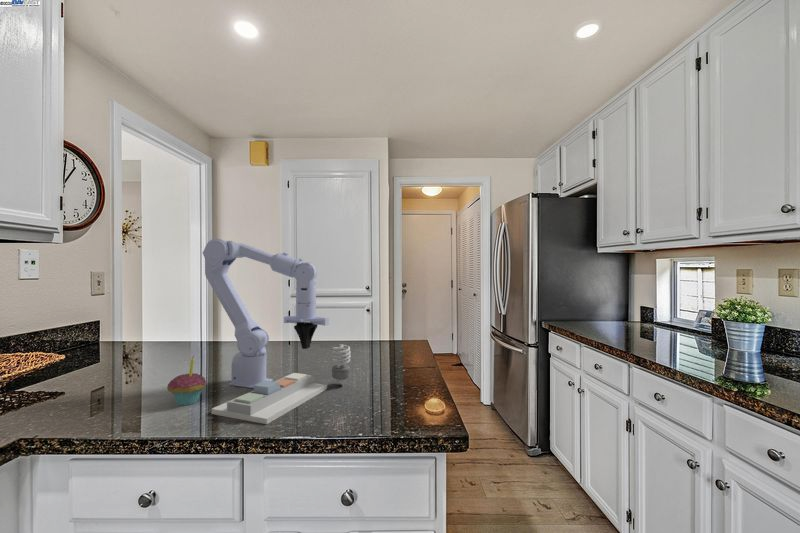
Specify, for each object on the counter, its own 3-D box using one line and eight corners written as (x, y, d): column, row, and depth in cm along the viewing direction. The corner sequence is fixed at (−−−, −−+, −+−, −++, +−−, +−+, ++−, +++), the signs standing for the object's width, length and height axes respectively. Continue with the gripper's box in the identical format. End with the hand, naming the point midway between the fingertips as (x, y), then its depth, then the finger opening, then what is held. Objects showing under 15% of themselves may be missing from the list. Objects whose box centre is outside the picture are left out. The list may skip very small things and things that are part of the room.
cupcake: (213, 398, 96) (213, 353, 96) (185, 410, 88) (185, 360, 88) (188, 394, 99) (189, 350, 99) (159, 405, 91) (159, 357, 91)
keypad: (211, 413, 86) (211, 399, 86) (280, 382, 110) (280, 371, 110) (266, 424, 81) (266, 408, 81) (327, 389, 104) (327, 377, 104)
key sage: (235, 408, 85) (235, 398, 85) (248, 401, 89) (248, 392, 89) (250, 410, 84) (250, 401, 84) (263, 404, 88) (263, 394, 88)
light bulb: (346, 388, 104) (346, 346, 104) (328, 387, 105) (328, 345, 105) (353, 382, 110) (353, 342, 110) (335, 381, 111) (335, 341, 111)
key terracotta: (269, 391, 97) (269, 383, 97) (280, 386, 101) (280, 378, 101) (283, 393, 95) (283, 385, 95) (294, 388, 99) (294, 380, 99)
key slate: (253, 394, 91) (253, 385, 91) (265, 388, 95) (265, 380, 95) (268, 396, 89) (268, 387, 89) (279, 390, 94) (279, 382, 94)
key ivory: (284, 384, 102) (284, 377, 102) (294, 380, 106) (294, 372, 106) (297, 386, 101) (297, 378, 101) (307, 382, 105) (307, 374, 105)
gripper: (277, 303, 108) (277, 349, 108) (319, 304, 103) (319, 352, 103) (292, 301, 115) (291, 344, 115) (332, 302, 110) (332, 347, 110)
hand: (305, 348), depth 109 cm, fingers closed
